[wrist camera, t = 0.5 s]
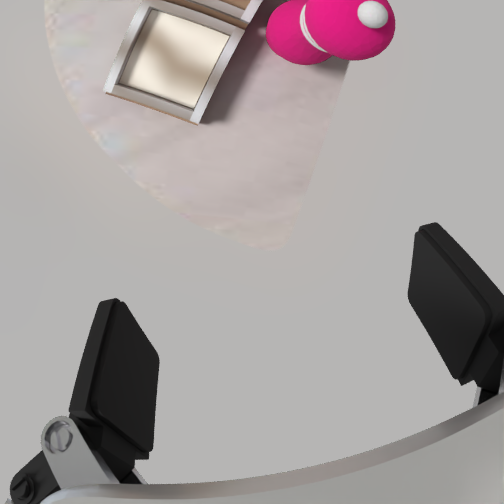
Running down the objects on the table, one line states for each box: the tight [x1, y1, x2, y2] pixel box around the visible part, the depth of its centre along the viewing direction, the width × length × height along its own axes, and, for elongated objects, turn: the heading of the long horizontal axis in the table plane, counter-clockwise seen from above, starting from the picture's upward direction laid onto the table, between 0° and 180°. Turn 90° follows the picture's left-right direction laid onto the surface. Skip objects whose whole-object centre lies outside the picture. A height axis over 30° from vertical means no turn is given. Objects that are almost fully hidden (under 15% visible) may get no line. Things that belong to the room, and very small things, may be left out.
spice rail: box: [103, 0, 262, 125], centre depth 25 cm, size 24×11×3 cm, turn 154°
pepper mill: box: [266, 0, 395, 65], centre depth 21 cm, size 7×7×20 cm
